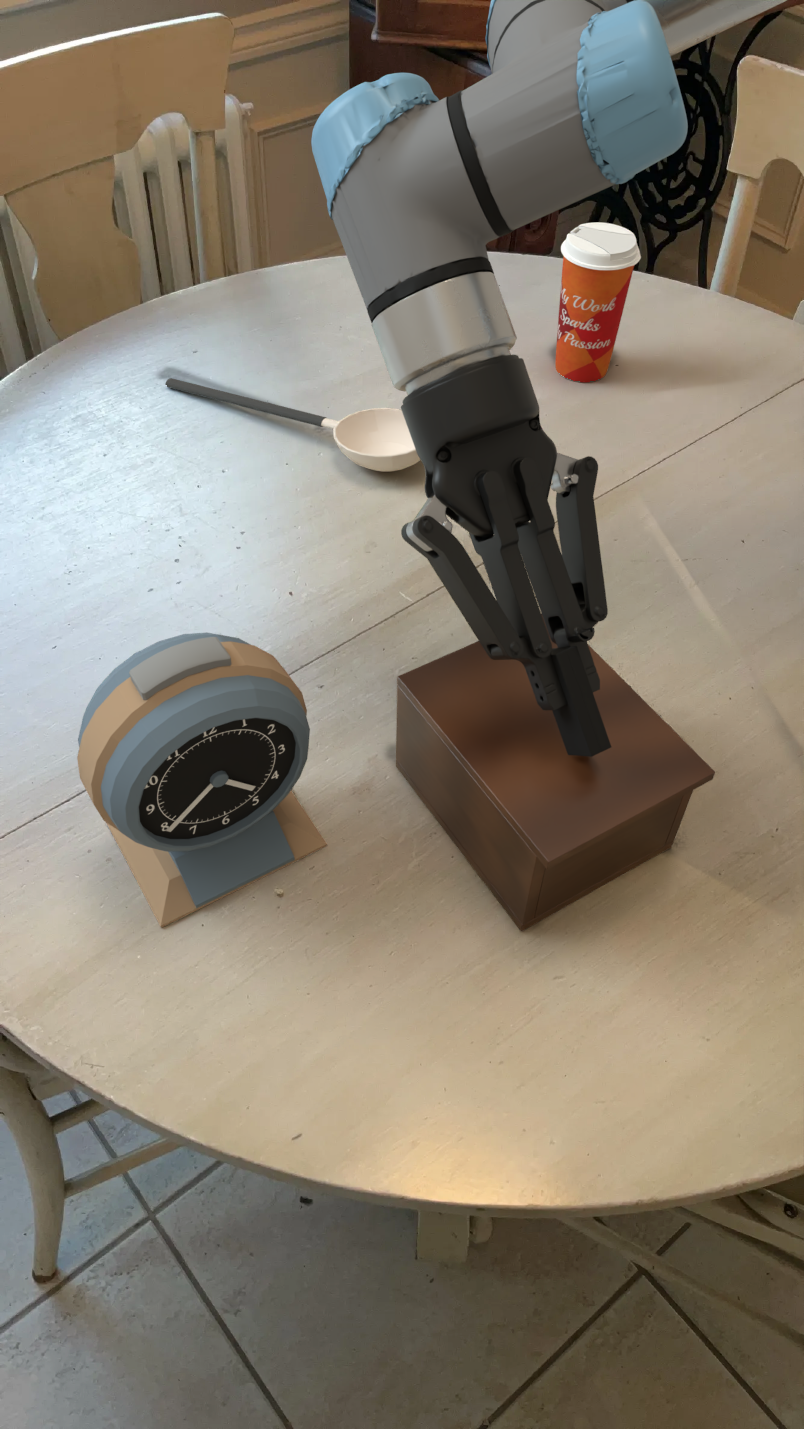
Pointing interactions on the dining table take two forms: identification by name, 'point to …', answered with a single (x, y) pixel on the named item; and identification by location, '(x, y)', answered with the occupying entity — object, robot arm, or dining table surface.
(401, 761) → the keepsake box
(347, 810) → the dining table surface
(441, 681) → the box lid
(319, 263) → the dining table surface
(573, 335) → the paper cup
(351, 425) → the ladle
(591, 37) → the robot arm
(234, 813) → the alarm clock
